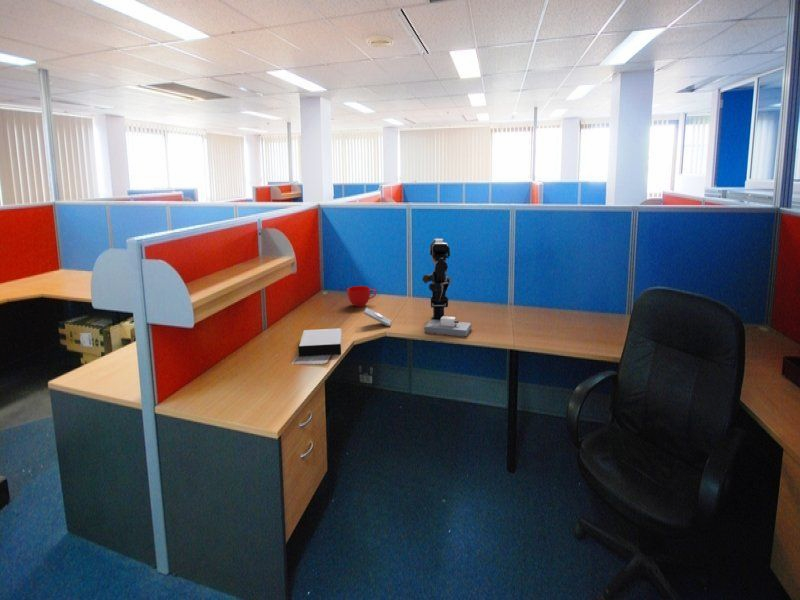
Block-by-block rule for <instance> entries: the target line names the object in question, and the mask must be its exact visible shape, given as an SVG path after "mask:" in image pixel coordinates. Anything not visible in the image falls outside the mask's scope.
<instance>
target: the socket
mask: <svg viewBox="0 0 800 600" xmlns="http://www.w3.org/2000/svg"><path fill="white" fill-rule="evenodd" d="M455 325H456V327H455V326H443V325H441V320H439V319H431V320H430V321H428V322H427V324H425V326H424V333H425V332H427V333H426V334H434V333H436V334H437V335H444V334H446V335H445V336H448V335H449V336H454V335H457V337H464V336H466V337H467V336H468V335H469V333H470V332H469V331H471V330H472V322H465V321H464V322H463V321H459V323H456V324H455Z"/></svg>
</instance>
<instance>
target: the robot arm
mask: <svg viewBox="0 0 800 600" xmlns="http://www.w3.org/2000/svg"><path fill="white" fill-rule="evenodd" d="M450 250H451V249H450V246H449V245H448V242H444V239H443V238H434V239H433V242H432V243H430V245H429V256H431V257H430V258H431V261H432V263H434V265H433V266H434V267H433V268H434V269H433V271H432V273H430V274H423V276H422V282H423V283H424V284H427V283H429V282H431V283H430V284H429V285H428V290H430V291H431V293H432V294H431V296H430V308H431V309H432V310H433V311H432V312H433V314H432V315H433V316H431V320H441V317H442V316H446V315H445V308H448V307H449V297H448V295H447V291H448V289H449V287H450V285H451V283H452V278H451V277H450V276H447V273H448V265H449V264H448V263H447V259H449V258H450V257H451V251H450Z"/></svg>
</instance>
